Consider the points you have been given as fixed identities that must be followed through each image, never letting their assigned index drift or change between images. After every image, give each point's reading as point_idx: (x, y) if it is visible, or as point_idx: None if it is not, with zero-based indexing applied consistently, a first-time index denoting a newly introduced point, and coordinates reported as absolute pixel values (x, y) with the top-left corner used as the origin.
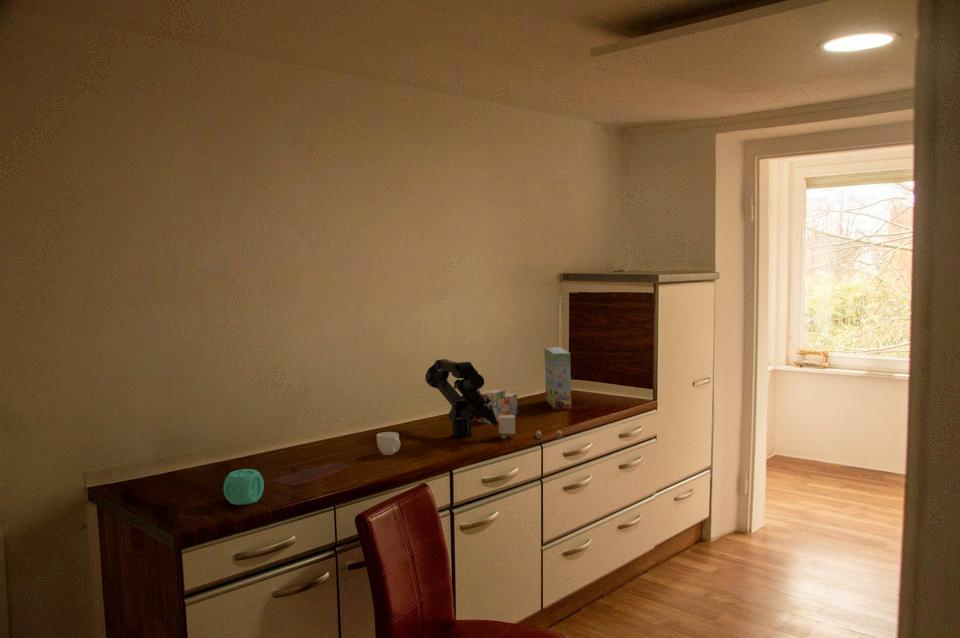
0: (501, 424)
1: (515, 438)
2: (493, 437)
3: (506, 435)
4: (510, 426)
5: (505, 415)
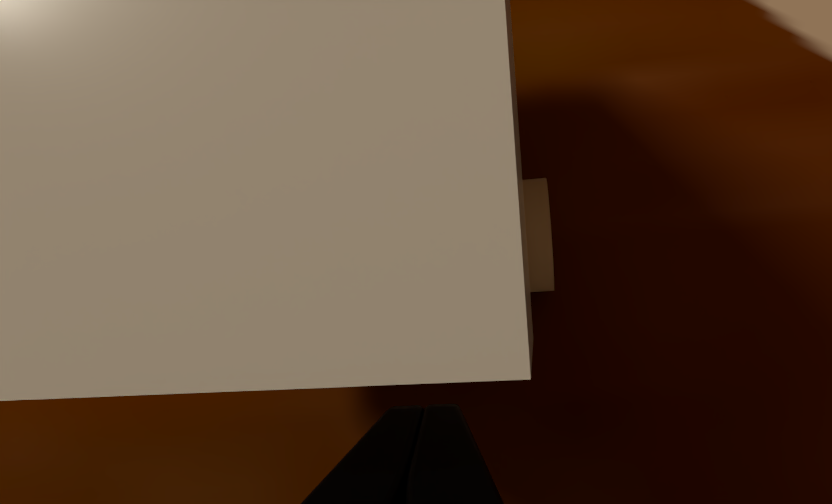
0: (526, 273)
1: None
2: None
3: None
4: (509, 11)
5: (21, 132)
